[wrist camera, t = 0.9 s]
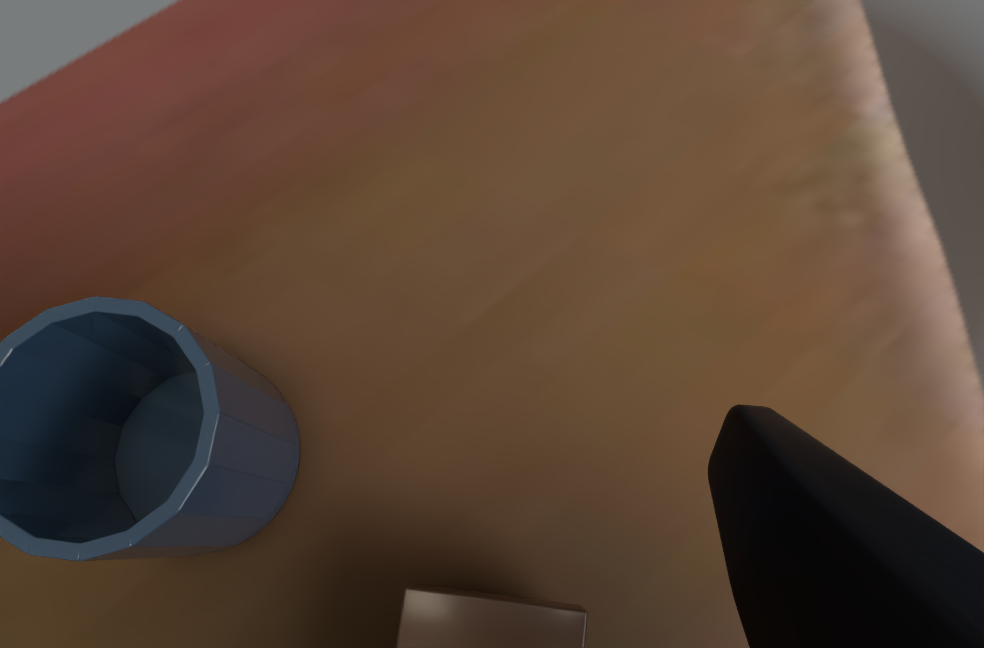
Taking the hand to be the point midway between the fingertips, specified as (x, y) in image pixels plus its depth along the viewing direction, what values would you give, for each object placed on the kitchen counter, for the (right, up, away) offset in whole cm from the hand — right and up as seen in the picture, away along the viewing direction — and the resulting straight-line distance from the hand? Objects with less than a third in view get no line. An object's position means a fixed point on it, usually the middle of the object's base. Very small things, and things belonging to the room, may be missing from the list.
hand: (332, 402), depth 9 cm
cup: (-8, -3, +17) cm, 19 cm away
